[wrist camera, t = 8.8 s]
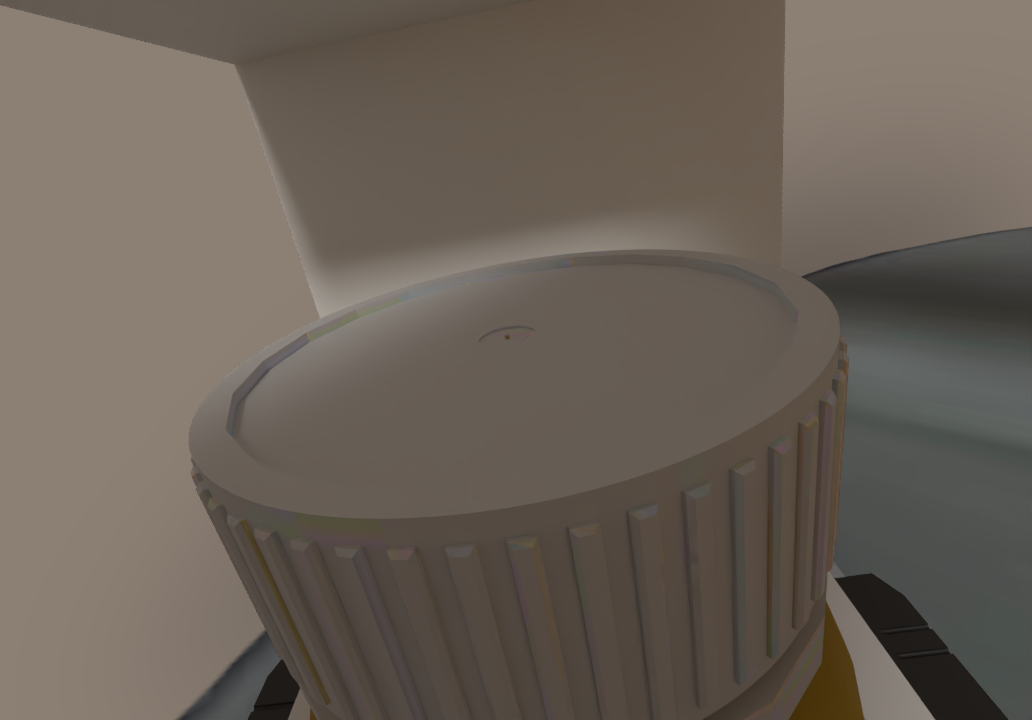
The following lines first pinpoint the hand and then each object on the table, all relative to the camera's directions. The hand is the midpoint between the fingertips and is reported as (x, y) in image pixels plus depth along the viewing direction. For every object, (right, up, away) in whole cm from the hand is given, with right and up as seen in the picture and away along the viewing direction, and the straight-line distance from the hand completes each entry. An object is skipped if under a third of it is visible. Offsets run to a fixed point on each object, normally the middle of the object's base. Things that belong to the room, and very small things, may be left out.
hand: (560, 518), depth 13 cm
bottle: (+1, -10, -1) cm, 10 cm away
